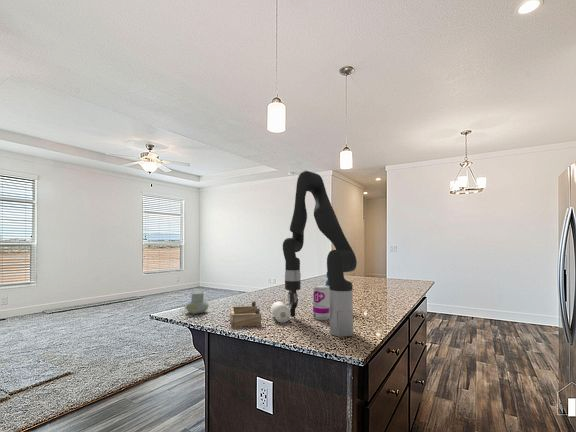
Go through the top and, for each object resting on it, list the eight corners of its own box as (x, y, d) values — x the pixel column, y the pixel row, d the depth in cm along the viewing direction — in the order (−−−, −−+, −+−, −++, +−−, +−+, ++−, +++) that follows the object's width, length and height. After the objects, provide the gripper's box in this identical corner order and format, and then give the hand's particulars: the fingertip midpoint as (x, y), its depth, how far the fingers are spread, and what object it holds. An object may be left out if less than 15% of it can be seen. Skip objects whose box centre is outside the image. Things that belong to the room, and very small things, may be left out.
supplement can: (324, 321, 143) (324, 288, 145) (309, 318, 148) (309, 286, 149) (333, 317, 150) (333, 286, 151) (318, 315, 155) (318, 284, 156)
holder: (261, 325, 136) (261, 309, 137) (231, 327, 133) (231, 310, 134) (256, 315, 154) (256, 301, 154) (230, 317, 151) (230, 302, 151)
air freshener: (210, 311, 162) (211, 292, 163) (201, 315, 155) (202, 294, 155) (192, 310, 166) (193, 291, 166) (183, 313, 158) (183, 293, 159)
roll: (284, 326, 141) (293, 312, 142) (271, 316, 140) (281, 303, 141) (279, 319, 153) (288, 307, 154) (267, 310, 152) (276, 298, 154)
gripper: (303, 281, 144) (303, 319, 143) (297, 277, 157) (297, 312, 156) (287, 281, 142) (287, 320, 141) (282, 278, 155) (282, 313, 154)
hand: (292, 316), depth 148 cm, fingers closed
